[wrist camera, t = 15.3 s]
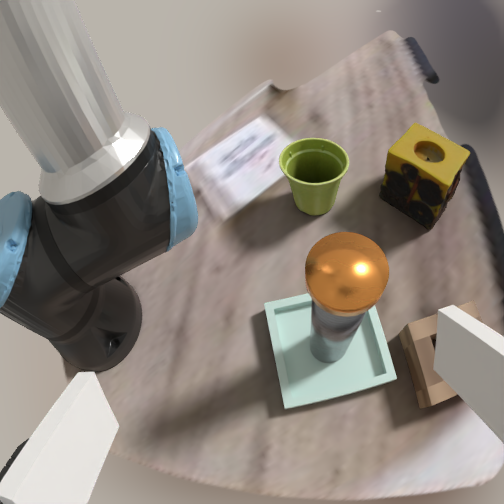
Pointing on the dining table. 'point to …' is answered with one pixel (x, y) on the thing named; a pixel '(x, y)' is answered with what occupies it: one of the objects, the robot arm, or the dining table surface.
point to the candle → (422, 174)
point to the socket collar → (428, 357)
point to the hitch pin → (342, 290)
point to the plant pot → (314, 173)
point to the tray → (314, 371)
